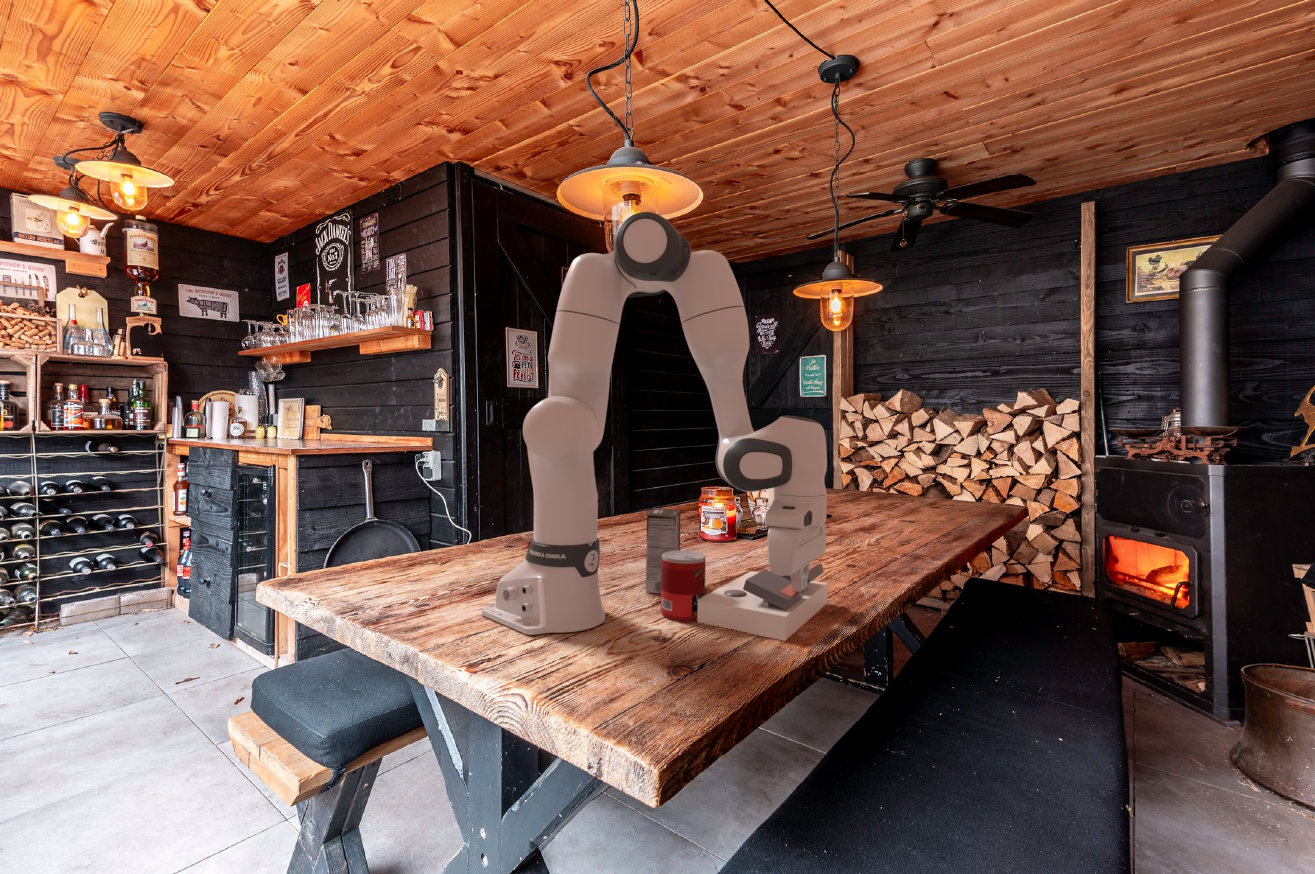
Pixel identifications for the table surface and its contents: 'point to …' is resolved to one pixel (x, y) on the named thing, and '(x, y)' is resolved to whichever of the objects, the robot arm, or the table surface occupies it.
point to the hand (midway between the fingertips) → (799, 589)
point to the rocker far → (810, 572)
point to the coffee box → (660, 543)
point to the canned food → (682, 584)
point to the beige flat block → (759, 609)
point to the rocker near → (773, 589)
